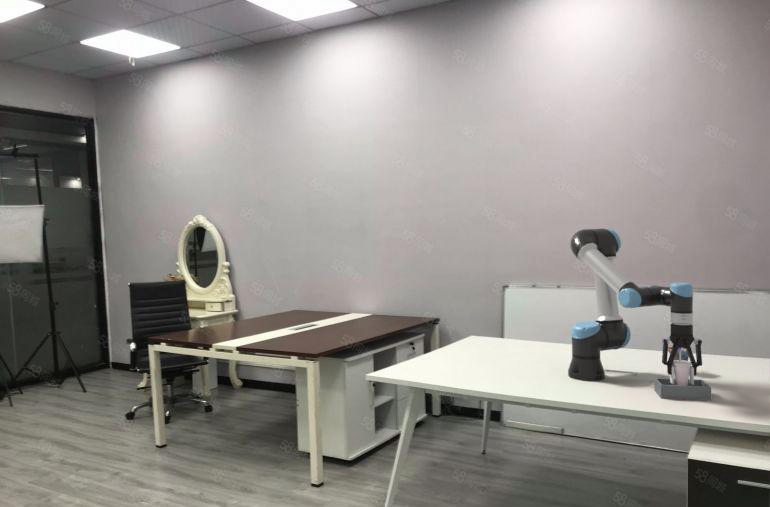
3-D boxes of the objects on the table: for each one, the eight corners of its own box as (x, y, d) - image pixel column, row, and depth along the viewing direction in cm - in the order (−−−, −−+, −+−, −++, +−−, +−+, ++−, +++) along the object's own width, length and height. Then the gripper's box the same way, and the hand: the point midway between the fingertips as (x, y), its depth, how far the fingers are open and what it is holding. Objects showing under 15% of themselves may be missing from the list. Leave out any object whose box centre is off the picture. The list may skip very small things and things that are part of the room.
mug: (689, 376, 239) (689, 352, 239) (665, 373, 245) (665, 349, 244) (694, 370, 248) (694, 346, 248) (671, 367, 254) (671, 344, 254)
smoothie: (671, 383, 217) (671, 348, 217) (690, 385, 215) (689, 349, 214) (673, 388, 211) (673, 352, 211) (692, 389, 209) (692, 352, 208)
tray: (660, 398, 210) (660, 385, 210) (654, 390, 220) (654, 378, 220) (711, 400, 206) (711, 386, 206) (702, 392, 216) (702, 379, 216)
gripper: (656, 324, 211) (657, 385, 212) (712, 325, 206) (712, 386, 207) (652, 321, 218) (652, 379, 219) (706, 322, 214) (706, 381, 214)
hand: (681, 383), depth 213 cm, fingers closed on smoothie, 6 cm apart
